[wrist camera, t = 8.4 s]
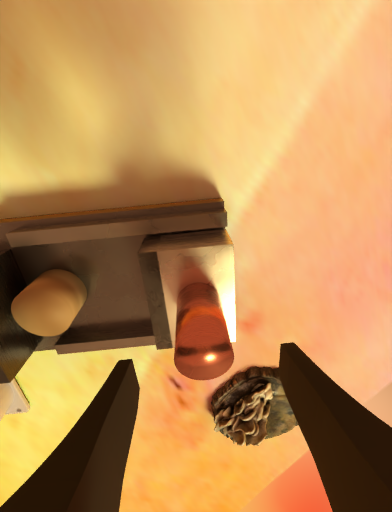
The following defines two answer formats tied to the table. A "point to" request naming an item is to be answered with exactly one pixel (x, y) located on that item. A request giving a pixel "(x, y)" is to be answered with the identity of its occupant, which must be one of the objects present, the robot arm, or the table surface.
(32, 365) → the table surface
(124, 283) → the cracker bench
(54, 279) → the tan rounded lump
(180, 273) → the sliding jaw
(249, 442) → the log
